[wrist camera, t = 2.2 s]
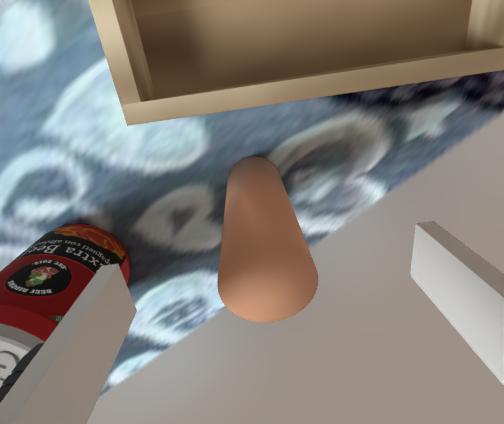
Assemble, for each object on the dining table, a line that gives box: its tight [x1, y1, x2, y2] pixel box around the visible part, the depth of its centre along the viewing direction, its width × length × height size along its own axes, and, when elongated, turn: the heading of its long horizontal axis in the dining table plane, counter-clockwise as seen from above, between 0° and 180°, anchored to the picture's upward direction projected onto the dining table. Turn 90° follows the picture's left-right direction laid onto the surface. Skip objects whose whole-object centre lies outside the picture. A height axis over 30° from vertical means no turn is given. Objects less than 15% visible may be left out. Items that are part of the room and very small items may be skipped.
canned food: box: [0, 224, 130, 387], centre depth 20 cm, size 8×8×11 cm
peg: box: [218, 156, 318, 322], centre depth 17 cm, size 4×4×12 cm
